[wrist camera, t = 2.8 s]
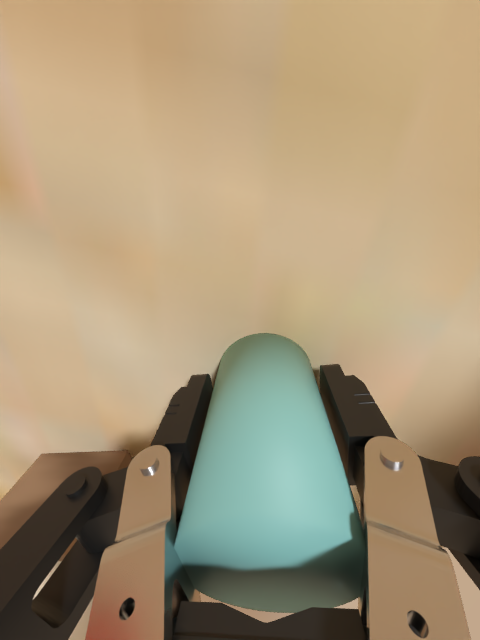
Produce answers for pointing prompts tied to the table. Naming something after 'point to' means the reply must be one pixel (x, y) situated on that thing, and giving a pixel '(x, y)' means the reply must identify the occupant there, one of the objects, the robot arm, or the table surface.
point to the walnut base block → (50, 485)
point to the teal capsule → (270, 489)
